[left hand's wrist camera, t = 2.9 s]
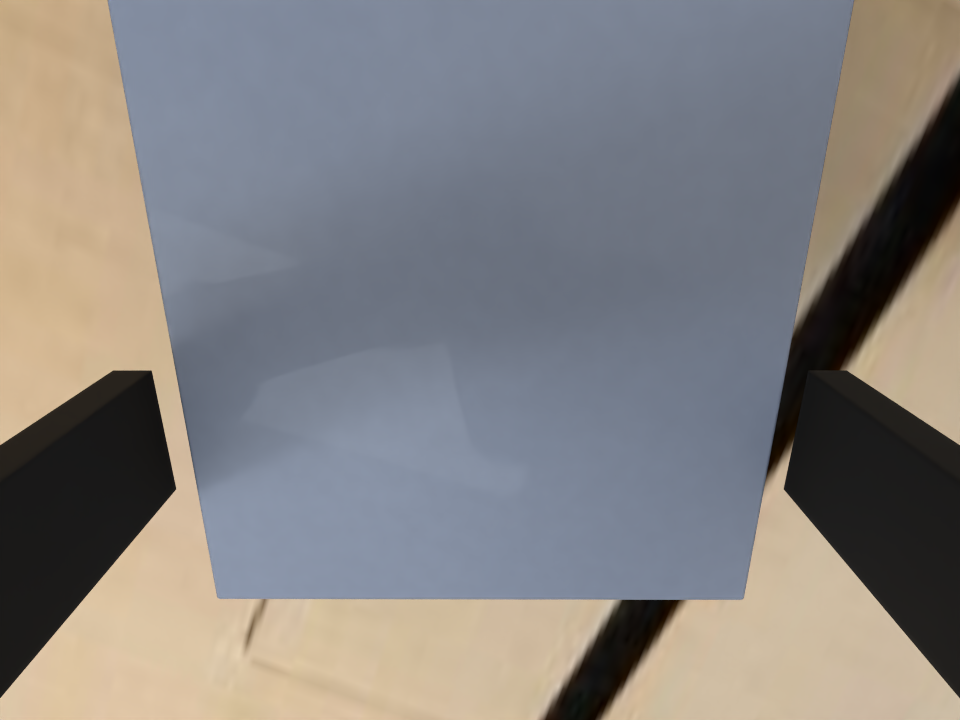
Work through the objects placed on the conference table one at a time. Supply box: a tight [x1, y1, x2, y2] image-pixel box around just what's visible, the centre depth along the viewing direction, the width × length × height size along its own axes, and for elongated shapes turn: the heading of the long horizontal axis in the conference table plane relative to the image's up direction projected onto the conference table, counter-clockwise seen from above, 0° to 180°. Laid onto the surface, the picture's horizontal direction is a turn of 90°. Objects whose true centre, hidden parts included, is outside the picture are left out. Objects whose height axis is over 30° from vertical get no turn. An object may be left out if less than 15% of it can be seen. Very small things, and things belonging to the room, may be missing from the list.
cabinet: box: [108, 0, 854, 600], centre depth 14 cm, size 19×11×10 cm, turn 0°
